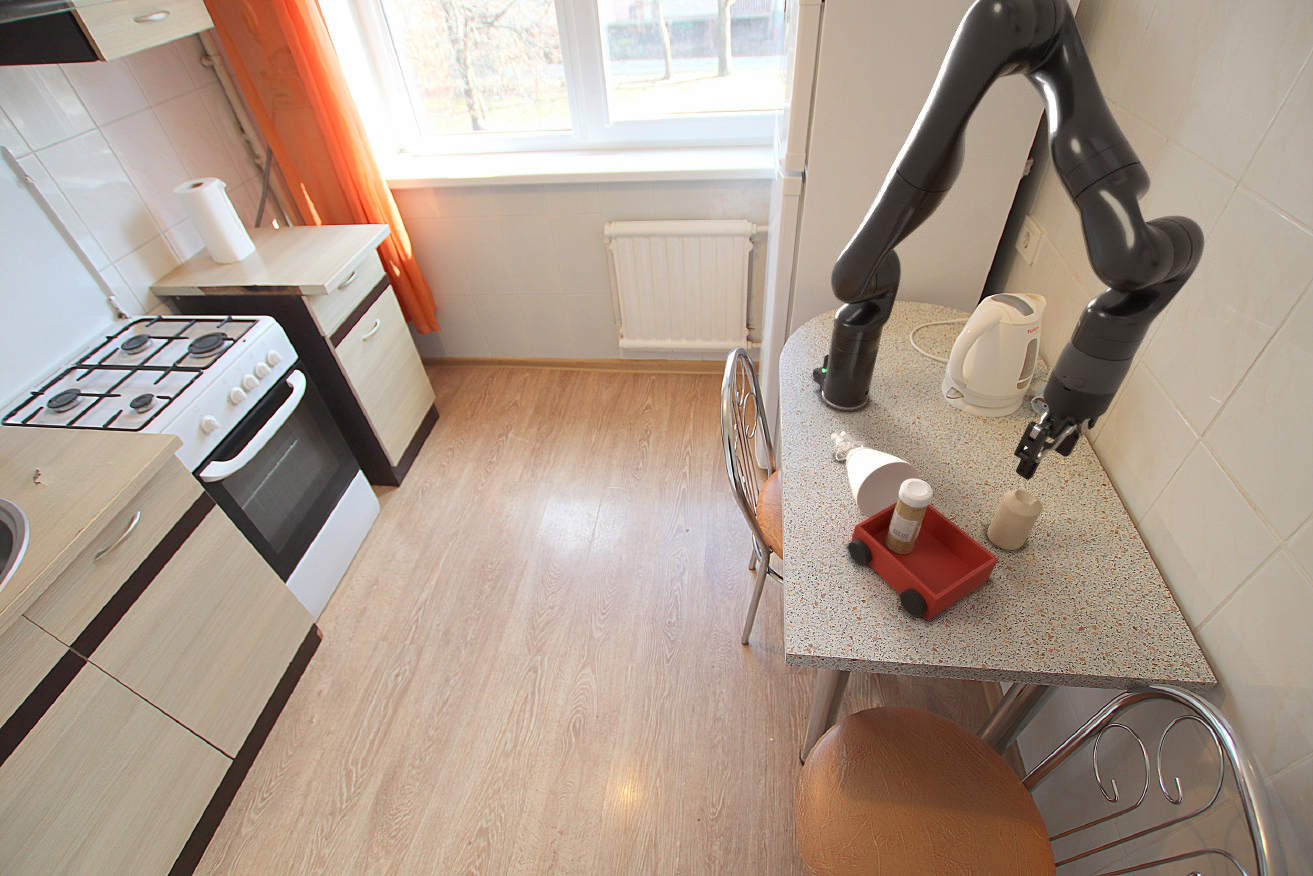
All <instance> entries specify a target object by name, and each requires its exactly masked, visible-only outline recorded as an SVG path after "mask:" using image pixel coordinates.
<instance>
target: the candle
mask: <svg viewBox="0 0 1313 876" xmlns="http://www.w3.org/2000/svg"><path fill="white" fill-rule="evenodd" d="M1042 511H1043V504H1042V502H1041V501H1040V499H1039V498H1038V497H1037V496H1036V495H1034V494H1033V493H1032V492H1029V491H1026V490H1024V489H1013V490H1012V489H1011V490H1008V491H1006V492H1005V493H1004V495H1003V496H1002V499H1001V500H1000V503H999V505H998V507H997V508H996V510H995V513H994V515H993V517H992V520H991V521H990V524H989V526H988V527H987V531H986V534H987V538H988V540H989V541H990V542H991V543H992V544H993V545H995V546H996V547H998V548H1000V549H1002V550H1006V551H1015V550H1019V549H1020V548H1022V546H1023V545H1024V544H1025V542H1026V540H1027V538H1028V537H1029V535H1030V533H1031V531H1032V529H1033V528H1034V526H1035V524H1036V522H1037V520H1038V519H1039V517H1040V516H1041V513H1042Z"/></svg>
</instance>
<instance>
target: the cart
mask: <svg viewBox="0 0 1313 876" xmlns="http://www.w3.org/2000/svg"><path fill="white" fill-rule="evenodd" d="M896 505H897V502H896V503H895V504H893V505H891V506H889V507H887V508H886V509H884V510H882V511H880V512H879V513H877V514H875V515H873V516H871V517H870V518H868V517H867V518H866V519H865V520H863V521H861V522H859V523H857V524H855V525H854V529H853V533H852V537H851V541H850V543H851V542H853V541H854V540H861V541H863V542H864V543H865V544H866V545H867V546H868V548H869V549H870V551H871V555H872V559H871V561H870V562H869V563H867V564H866V565H868V567H870V568H871V569H872V570H873V571H874V572H875V573H876V574H878V576H880V577H881V578H882V579H883V580H884V581H885V582H886V584H888V585H889V586H890V587H891V588H892V589H893V590H894V591H895V592H896V593H897V594H899V595H900V594H901V593H902V592H904V591H905V590H907V589H913V590H915V591H917V592H918V593H919V594H920V595H921V596H922V597H923V599H924V600H925V602H926V605H927V611H926V613H924V614H923V615H921V616H922V617H923V618H924V619H925V620H926V622H927V621H929V620H931V619H932V618H934V617H936V616H937V615H938V614H940V613H941V612H943V611H945V610H947V608H949V607H950V606H952V605H953V604H955V603H956V602H958V601H959V600H961V599H962V598H964V597H966V596H967V595H968V594H970V593H971V592H973V591H974V590H976V589H977V588H979V587H980V586H982V585H983V584H985V583H986V582H988V580H989V579H990V577H991V575H992V573H993V571H994V569H995V567H996V565H997V563H998V562H999V560H1000V559H999V557H997V556H996V555H994V553H993V552H991V551H990V550H988V549H987V548H986V547H985V546H983V545H982V544H981V543H980V542H978V541H977V540H976V539H975V538H973V537H971V535H969V534H968V533H967V532H966V531H964V530H963V529H962V528H960V526H958V525H957V524H955V522H953V521H951V520H950V519H949V518H947V516H945V515H944V514H943V513H941V512H940V511H939V510H938V509H936V508H935V507H934V506H933V505H932V504H930V503H929V504H928V506H927V508H926V512H925V514H924V518H923V520H922V524H921V528H920V531H919V533H918V536H917V538H916V541H915V543H914V548H913V550H912V551H911V552H910V553H908V554H898V553H895V552H893V551H891V550H890V549H889V548H888V547H887V545H886V543H885V539H886V536H887V535H888V532H889V527H890V523H891V520H892V517H893V513H894V510H895V507H896Z"/></svg>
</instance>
